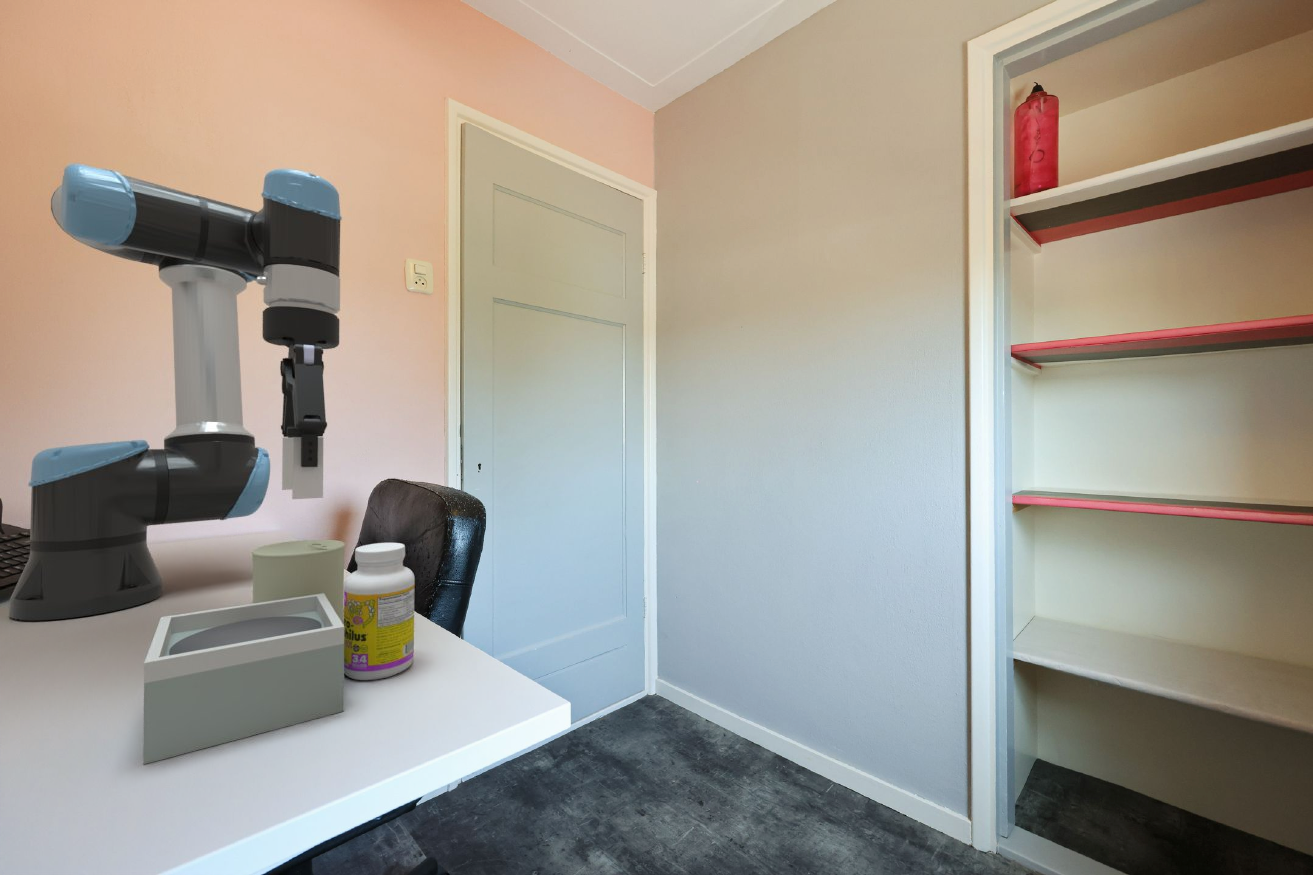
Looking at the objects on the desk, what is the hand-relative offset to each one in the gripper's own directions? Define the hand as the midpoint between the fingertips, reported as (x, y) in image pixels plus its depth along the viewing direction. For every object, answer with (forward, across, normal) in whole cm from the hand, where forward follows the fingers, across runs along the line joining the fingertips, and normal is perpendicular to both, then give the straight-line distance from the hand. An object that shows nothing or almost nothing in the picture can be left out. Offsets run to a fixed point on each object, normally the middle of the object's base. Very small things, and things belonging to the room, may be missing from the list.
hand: (301, 493), depth 63 cm
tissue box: (+18, +14, -5) cm, 23 cm away
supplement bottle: (+18, +12, +6) cm, 23 cm away
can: (+18, 0, 0) cm, 18 cm away
